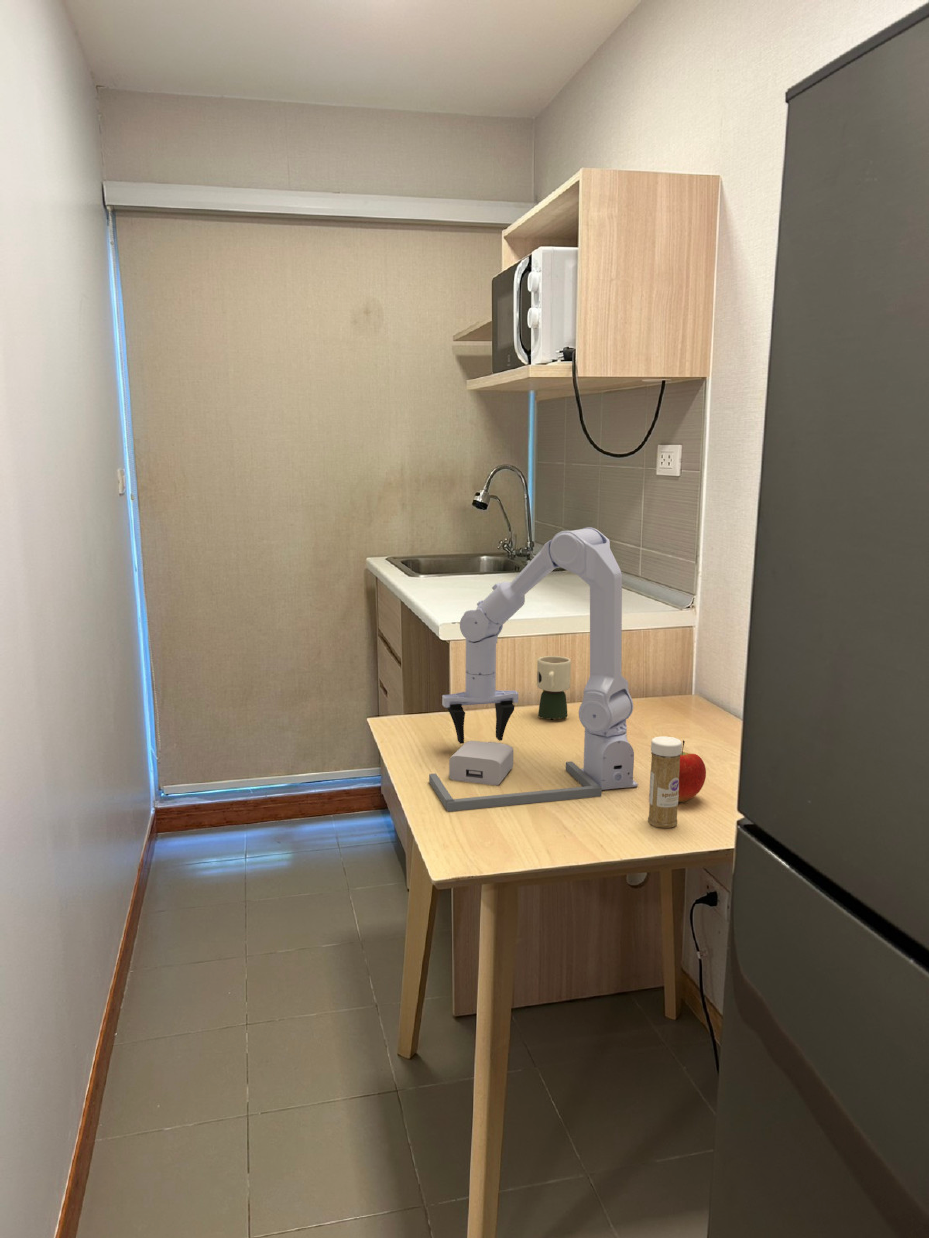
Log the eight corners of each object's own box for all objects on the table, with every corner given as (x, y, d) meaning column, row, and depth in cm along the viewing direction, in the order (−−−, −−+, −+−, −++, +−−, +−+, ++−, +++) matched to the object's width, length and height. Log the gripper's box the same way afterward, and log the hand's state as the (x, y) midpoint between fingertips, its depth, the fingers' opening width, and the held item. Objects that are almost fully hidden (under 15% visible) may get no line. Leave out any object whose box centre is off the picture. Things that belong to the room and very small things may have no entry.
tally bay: (601, 796, 149) (601, 787, 148) (447, 811, 142) (447, 802, 141) (571, 769, 161) (571, 761, 161) (429, 782, 154) (429, 773, 154)
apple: (644, 800, 147) (647, 742, 145) (667, 786, 153) (670, 730, 151) (689, 813, 142) (692, 753, 140) (711, 798, 148) (715, 741, 146)
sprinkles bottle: (668, 831, 135) (673, 746, 132) (642, 823, 138) (645, 740, 135) (682, 822, 138) (687, 739, 136) (656, 814, 141) (660, 733, 139)
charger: (521, 759, 167) (499, 787, 153) (474, 753, 170) (449, 780, 156) (521, 734, 166) (500, 760, 152) (474, 729, 169) (449, 755, 155)
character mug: (540, 709, 198) (541, 652, 195) (572, 712, 196) (573, 654, 194) (532, 724, 187) (533, 664, 185) (566, 726, 186) (567, 666, 183)
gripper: (510, 664, 174) (509, 731, 176) (438, 668, 170) (438, 736, 173) (522, 673, 167) (521, 742, 170) (447, 677, 163) (447, 748, 166)
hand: (480, 740), depth 171 cm, fingers open, 7 cm apart
